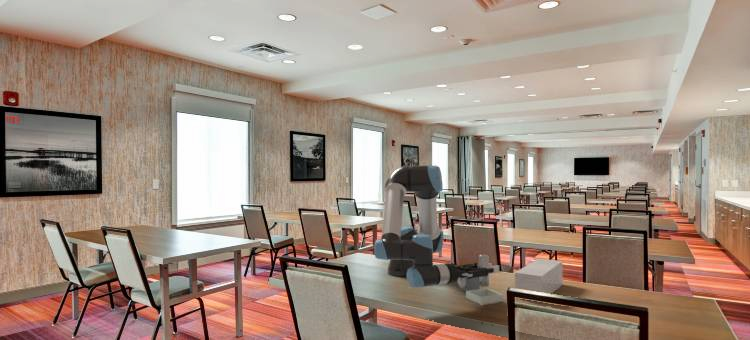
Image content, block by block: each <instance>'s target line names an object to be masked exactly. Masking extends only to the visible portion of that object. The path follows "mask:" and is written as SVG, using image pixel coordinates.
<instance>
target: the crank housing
mask: <svg viewBox="0 0 750 340" xmlns="http://www.w3.org/2000/svg"><path fill="white" fill-rule="evenodd" d="M457 284H458V289H459V290H461V291H463V292H465V293H466V291H470V290H477V289H481V288H480V286H479V277H476V278H471V279H468V277H465V278H460V277H459V278H458V280H457Z"/></svg>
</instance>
